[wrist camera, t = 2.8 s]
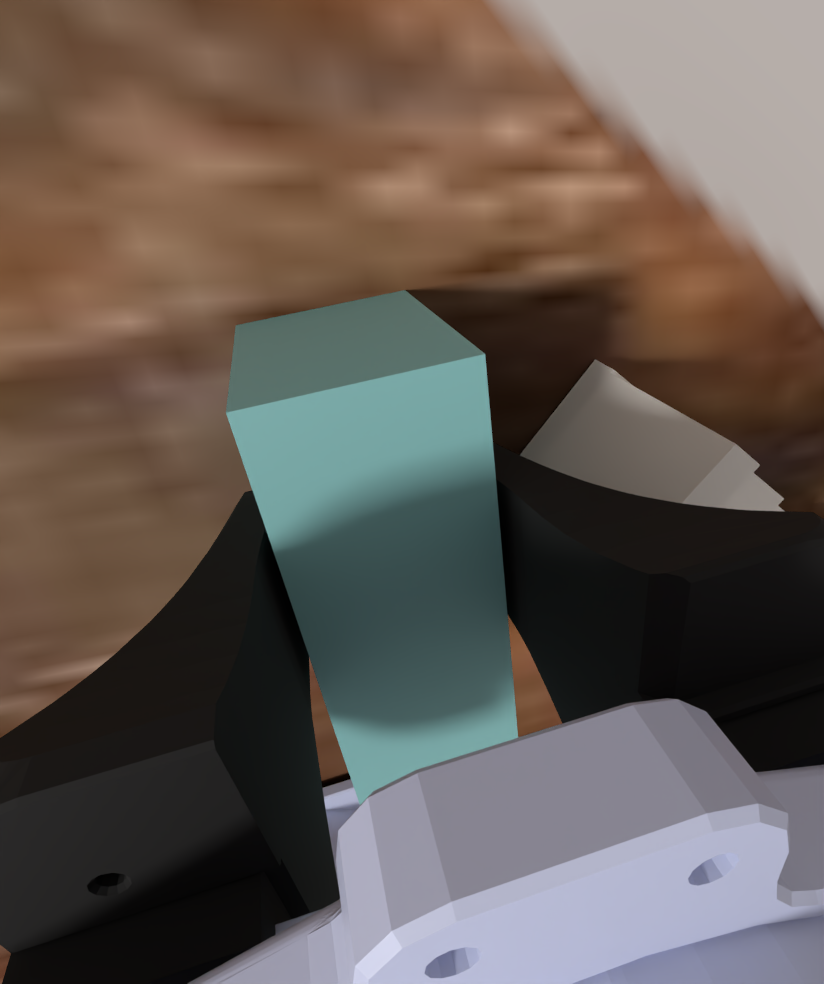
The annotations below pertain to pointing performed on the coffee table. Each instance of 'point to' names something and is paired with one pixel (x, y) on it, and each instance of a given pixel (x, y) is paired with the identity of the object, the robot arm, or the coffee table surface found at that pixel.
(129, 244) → the coffee table surface
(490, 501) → the teal block
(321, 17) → the coffee table surface
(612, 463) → the stand
